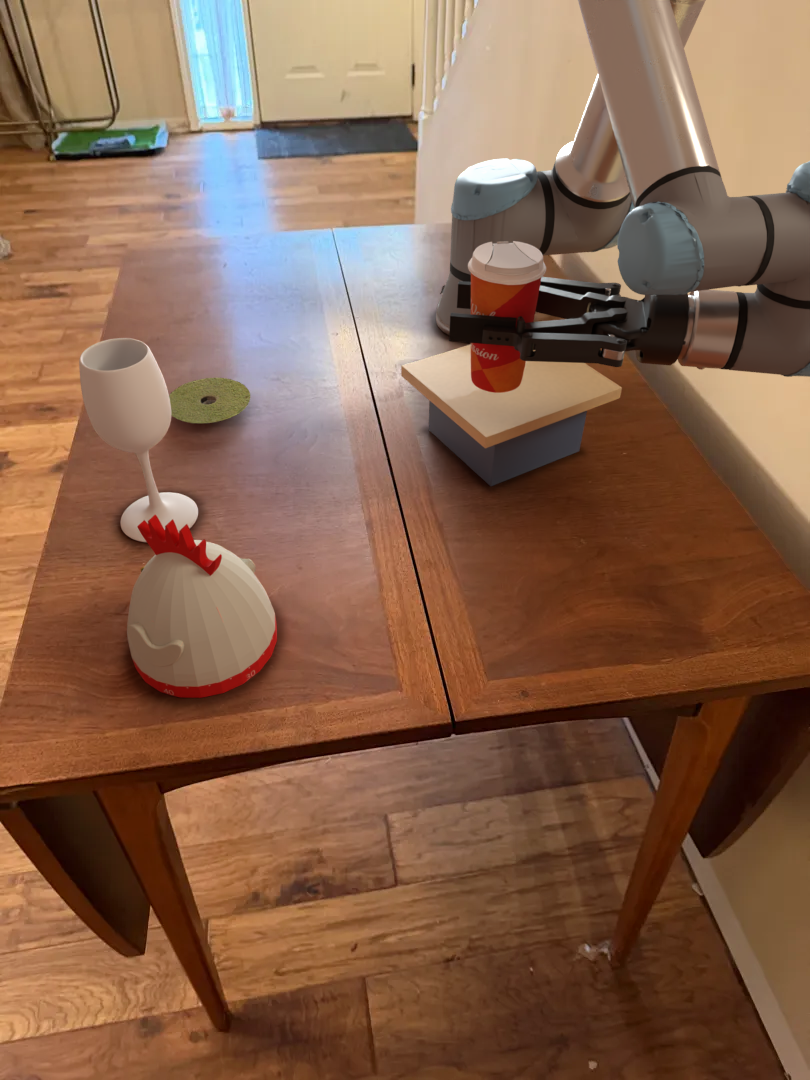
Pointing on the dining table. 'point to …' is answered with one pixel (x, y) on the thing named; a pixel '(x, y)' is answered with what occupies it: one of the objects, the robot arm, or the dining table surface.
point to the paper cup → (503, 307)
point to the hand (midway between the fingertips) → (454, 310)
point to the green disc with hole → (208, 400)
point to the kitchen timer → (197, 616)
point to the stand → (508, 412)
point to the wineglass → (132, 421)
